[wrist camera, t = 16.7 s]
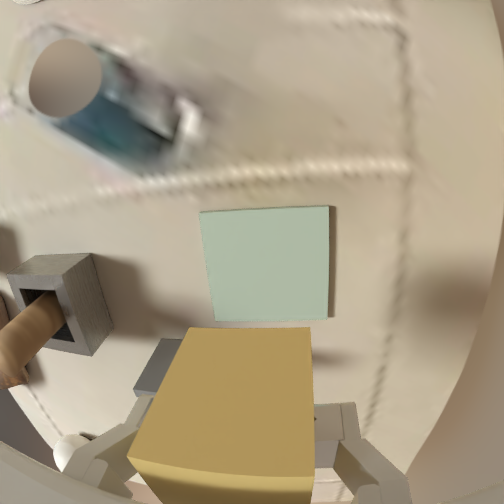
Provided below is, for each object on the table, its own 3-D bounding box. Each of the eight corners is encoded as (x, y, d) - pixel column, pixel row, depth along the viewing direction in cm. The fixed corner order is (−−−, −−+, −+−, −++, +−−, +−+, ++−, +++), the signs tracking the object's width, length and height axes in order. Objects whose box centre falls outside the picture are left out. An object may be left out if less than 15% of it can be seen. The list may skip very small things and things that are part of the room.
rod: (55, 276, 24) (-19, 338, 14) (79, 276, 23) (2, 345, 14) (65, 306, 25) (-1, 372, 15) (89, 307, 24) (22, 381, 15)
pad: (200, 211, 20) (198, 213, 19) (328, 205, 19) (328, 206, 18) (216, 318, 23) (215, 320, 22) (326, 316, 22) (327, 319, 21)
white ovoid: (59, 418, 34) (36, 452, 27) (99, 433, 33) (78, 473, 26) (81, 453, 38) (64, 484, 31) (119, 467, 37) (104, 502, 30)
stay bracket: (35, 255, 23) (6, 274, 19) (90, 253, 22) (61, 275, 18) (58, 322, 26) (35, 345, 22) (113, 328, 25) (91, 356, 21)
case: (156, 338, 24) (126, 388, 19) (265, 342, 23) (257, 400, 18) (183, 419, 28) (167, 464, 23) (272, 425, 27) (266, 476, 22)
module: (189, 327, 12) (126, 456, 6) (310, 327, 11) (314, 476, 5) (208, 405, 13) (174, 516, 8) (307, 407, 13) (305, 529, 7)
